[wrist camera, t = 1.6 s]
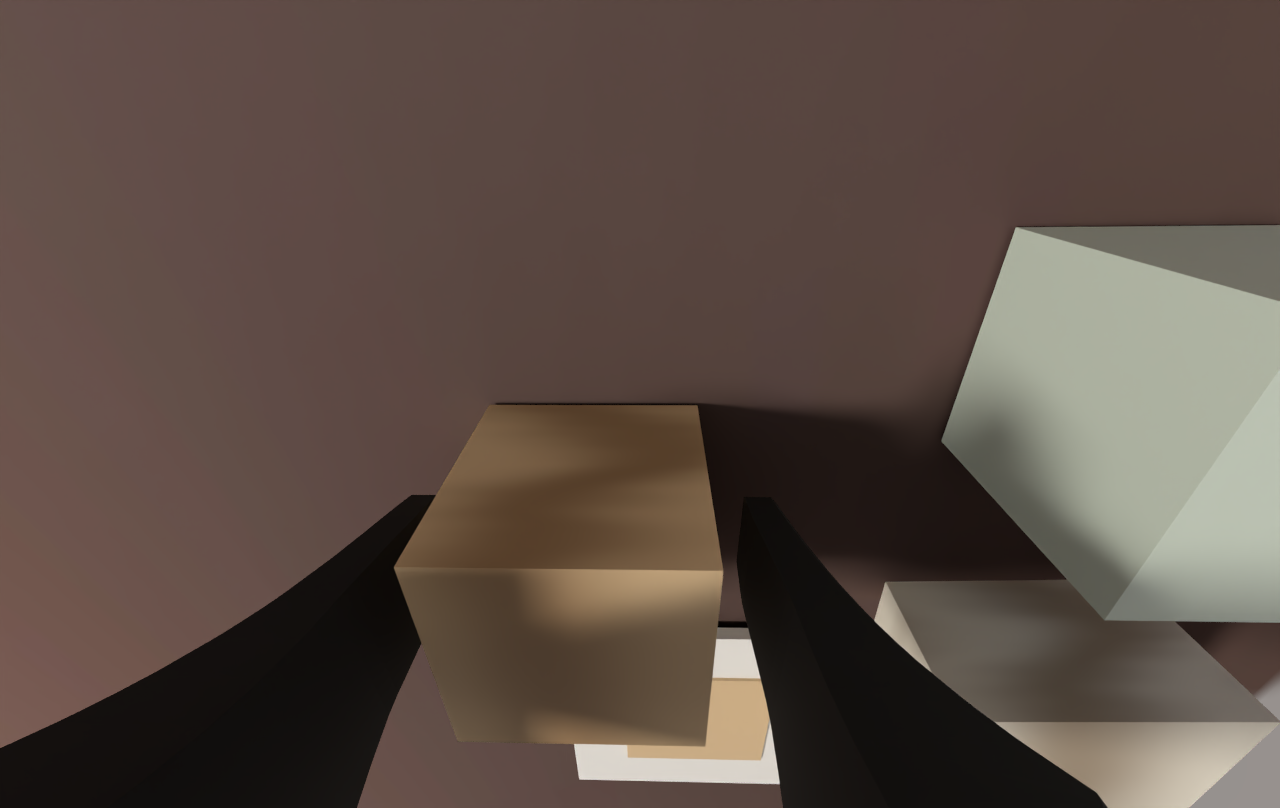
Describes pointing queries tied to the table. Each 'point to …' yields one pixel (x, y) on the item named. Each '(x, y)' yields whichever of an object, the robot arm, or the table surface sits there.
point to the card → (732, 732)
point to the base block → (1083, 684)
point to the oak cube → (572, 578)
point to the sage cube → (1136, 414)
